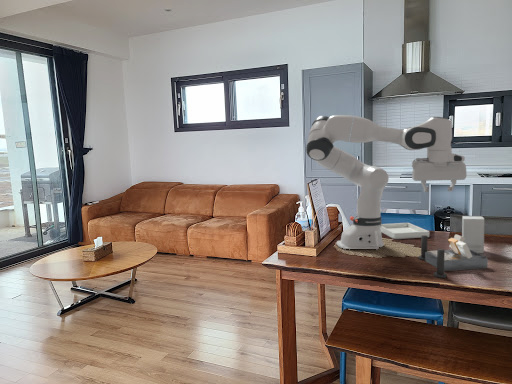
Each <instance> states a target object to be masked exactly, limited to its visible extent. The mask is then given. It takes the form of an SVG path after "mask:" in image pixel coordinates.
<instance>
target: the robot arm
mask: <svg viewBox="0 0 512 384" xmlns="http://www.w3.org/2000/svg"><path fill="white" fill-rule="evenodd" d="M337 141H341V142H343V141H344V142H346V143H348V142H349V143H357V144H358V143H359V144H360V143H361V144H365V143H370V142H385V143H390V144H395V145H398V146H401V147H402V148H404V149H406V150H408V151H419V150H422V149H426V150H427V153H426V157H423V158H422V157H420V158H419V157H417V158H416V159H414V160H412V162H411V164H412V165H411V166H412V173H411V179H412V180H413V181H414V182H415V181H416V182H420V184H421V186H422V188H423V192H424V193H425V192H426V193H427V192H429V191H430V190H429V189H430V188H429V187H428V186H427V185H426V184H427V182H428V181H430V182H431V181H432V182H433V181H450V185H449V186H447V192H453V191H454V187H455V186H456V184H457V181H463V180H466V178H467V165H466V163H465V162H464V161H465V156H464V155H462V154H461V155H459V154H456V153H453V152H452V151H453V149H452V146H451V145H452V141H453V127H452V122H451V120H450V119H449V118H447V117H442V116H441V117H440V116H431V117H430V118H429V119H427V120H425V121H424V122H422V123H419V124H418V125H415V126H409V127H405V128H402V129H401V128H394V127H387V126H382V125H378V124H376V123H375V122H374V121H373V120H371V119H368V118H365V117H362V116H358V115H350V114H349V115H348V114H335V115H334V114H333V115H331V116H326V115H320V116H317V117H316V118H315V119H314V120H313V122H312V124H311V128H310V130H309V133H308V138H307V144H306V147H305V148H306V154H307V156H308V158H310V159H312V160H313V161H315V162H316V163H317V164H319V165H320V166H321V167H323V168H325V169H327V170H328V171H330V172H332V173H334V174H336V175H338V176H341V177H342V178H344V179H346V180H347V181H349V182H350V183H353V184H354V185H356V186H358V187H360V192H359V196H358V198H357V200H356V215H355V216H352V215H351V216H350V217H349V220H351V222H352V224H351V225H350V226H348V227H347V228H346V229H344V230H343V231H342V233H341V236H340V240H337V241H336V245H337V247H339V248H340V249H342V248H343V250H346V249H349V250H350V249H376V250H379V249H380V248H383V246H384V242H383V241H384V240H383V237H382V236H383V235H382V232H381V224H383V223H382V220H383V219H382V216H381V208H382V207H381V206H382V205H381V203H382V198H383V192H384V189H385V188H386V186H387V185H388V183H389V174H388V172H387V171H386V170H384V169H383V168H382V167H380V166H375V165H369V164H366V163H364V162H363V161H361V160H359V159H358V158H357V157H355V156H354V155H353V154H350V153H349V152H346V151H345V150H343V149H341V148H339V147H337V146H335V145H334V143H335V142H337ZM379 247H380V248H379ZM350 251H351V250H350Z"/></svg>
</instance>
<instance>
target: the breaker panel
mask: <svg viewBox="0 0 512 384" xmlns="http://www.w3.org/2000/svg"><path fill="white" fill-rule="evenodd" d="M444 250H445V254H444V272H453V271H467V270H480V269H482V270H483V269H484V270H485V269H488V263H489V258H488V257H487V256H486V255H484V254H482V253H477V252H474V251H472V250H470V252H471V254H472V257H471V258H469V259H468V258H466V257H463V256H462V255H459V254H457V253H455V252H454V251H453V249H444ZM424 262H426V263H428V264H430V265H432V266H433V267H435V268H437V250H427V251H426V252H425V260H424Z"/></svg>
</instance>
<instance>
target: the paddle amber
mask: <svg viewBox="0 0 512 384" xmlns="http://www.w3.org/2000/svg"><path fill="white" fill-rule="evenodd" d="M447 241H448V242H449V245H451V247H452V248H451V250H453V251H454V252H455V253H457V254H459V255H461V253H460V251H459V249H458V247H457V245H456V243H457V242H458V240H456V239H454V237H450V238H449V239H448V240H447Z"/></svg>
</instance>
